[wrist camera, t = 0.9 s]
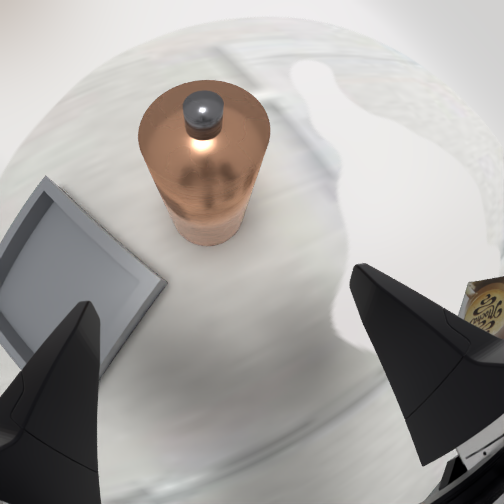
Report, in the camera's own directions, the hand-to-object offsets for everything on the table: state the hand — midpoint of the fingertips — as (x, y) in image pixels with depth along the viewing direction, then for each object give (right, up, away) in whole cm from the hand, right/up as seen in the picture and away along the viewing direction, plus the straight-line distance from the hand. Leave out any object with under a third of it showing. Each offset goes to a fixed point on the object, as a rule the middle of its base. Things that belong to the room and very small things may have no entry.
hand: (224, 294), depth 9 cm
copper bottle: (-3, +5, +14) cm, 15 cm away
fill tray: (-15, -2, +11) cm, 19 cm away
